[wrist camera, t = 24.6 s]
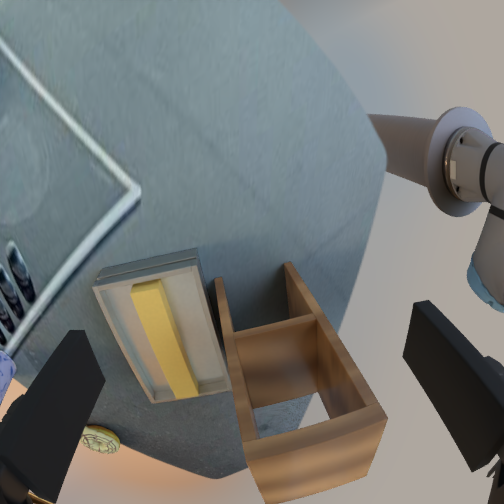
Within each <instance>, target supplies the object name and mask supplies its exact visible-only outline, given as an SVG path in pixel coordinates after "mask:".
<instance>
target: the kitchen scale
mask: <svg viewBox="0 0 504 504" xmlns="http://www.w3.org/2000/svg"><path fill="white" fill-rule="evenodd" d="M155 279H161V282H162V285H163V288H164V291H165V294H166V297H167V300H168V303H169V306H170V309H171V312H172V315H173V318H174V321H175V324H176V326H177V329H178V332H179V335H180V338H181V340H182V343H183V346H184V348H185V351H186V354H187V356H188V359H189V362H190V364H191V367H192V369H193V372H194V374H195V377H196V379H197V382H198V388H199V396H195V397H200V396H206V395H212V394H217V393H222V392H227V391H232V386H231V380H230V375H229V369H228V363H227V359H226V356H225V352H224V349H223V345H222V342H221V339H220V335H219V332H218V328H217V324H216V321H215V317H214V314H213V310H212V306H211V303H210V299H209V295H208V291H207V288H206V284H205V280H204V276H203V272H202V268H201V264H200V260H199V256H198V252H197V248H194V249H189V250H184V251H180V252H175V253H171V254H166V255H162V256H157V257H153V258H148V259H144V260H139V261H135V262H130V263H126V264H122V265H117V266H113V267H108V268H104V269H102V270H101V271H100V273H99V275H98V277H97V280H96V281H95V283H94V285H93V287H92V288H93V291H94V293H95V295H96V298H97V300H98V302H99V304H100V307H101V309H102V311H103V313H104V315H105V318H106V320H107V322H108V324H109V326H110V328H111V330H112V332H113V334H114V336H115V338H116V340H117V342H118V344H119V346H120V348H121V350H122V352H123V354H124V356H125V357H126V359H127V361H128V363H129V365H130V367H131V369H132V370H133V372H134V374H135V376H136V377H137V379H138V381H139V383H140V384H141V386H142V388H143V390H144V391H145V393H146V395H147V396H148V398H149V400H150V401H151V403H152V404H153V403H161V402H168V401H175V400H182V399H188V398H194V397H188V398H182V399H176V397H175V395H174V393H173V391H172V389H171V387H170V385H169V383H168V381H167V379H166V377H165V374H164V372H163V370H162V368H161V366H160V364H159V362H158V360H157V357H156V355H155V353H154V351H153V349H152V346H151V344H150V342H149V339H148V337H147V335H146V332H145V330H144V328H143V325H142V323H141V320H140V318H139V316H138V313H137V311H136V308H135V306H134V303H133V300H132V298H131V295H130V292H131V289H132V286H133V284H136V283H141V282H146V281H150V280H155Z"/></svg>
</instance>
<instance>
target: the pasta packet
mask: <svg viewBox="0 0 504 504" xmlns="http://www.w3.org/2000/svg"><path fill="white" fill-rule="evenodd" d="M130 295H131V298H132V300H133V303H134V306H135V308H136V311H137V313H138V316H139V318H140V320H141V323H142V325H143V328H144V330H145V332H146V335H147V337H148V339H149V342H150V344H151V346H152V349H153V351H154V353H155V355H156V357H157V360H158V362H159V364H160V366H161V368H162V370H163V372H164V374H165V377H166V379H167V381H168V383H169V385H170V387H171V389H172V391H173V393H174V395H175V397H176V399H182V398H188V397H195V396H199V388H198V382H197V379H196V377H195V374H194V372H193V369H192V367H191V364H190V362H189V359H188V356H187V354H186V351H185V348H184V346H183V343H182V340H181V338H180V335H179V332H178V329H177V326H176V324H175V321H174V318H173V315H172V312H171V309H170V306H169V303H168V300H167V297H166V294H165V291H164V288H163V285H162V282H161V279H155V280H150V281H146V282H141V283H136V284H133V286H132V289H131V292H130Z"/></svg>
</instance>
